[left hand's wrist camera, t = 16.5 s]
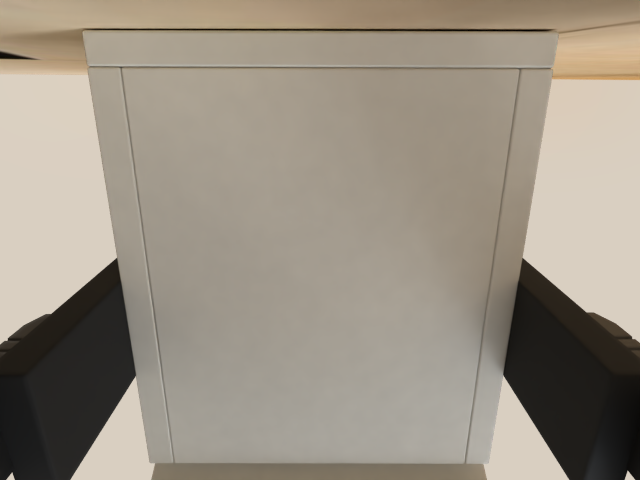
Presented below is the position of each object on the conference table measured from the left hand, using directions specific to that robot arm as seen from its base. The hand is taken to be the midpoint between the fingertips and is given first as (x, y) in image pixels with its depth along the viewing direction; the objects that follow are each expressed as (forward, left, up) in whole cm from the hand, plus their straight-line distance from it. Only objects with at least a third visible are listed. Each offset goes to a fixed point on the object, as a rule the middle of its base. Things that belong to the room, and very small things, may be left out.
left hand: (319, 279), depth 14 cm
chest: (+4, -3, -7) cm, 8 cm away
